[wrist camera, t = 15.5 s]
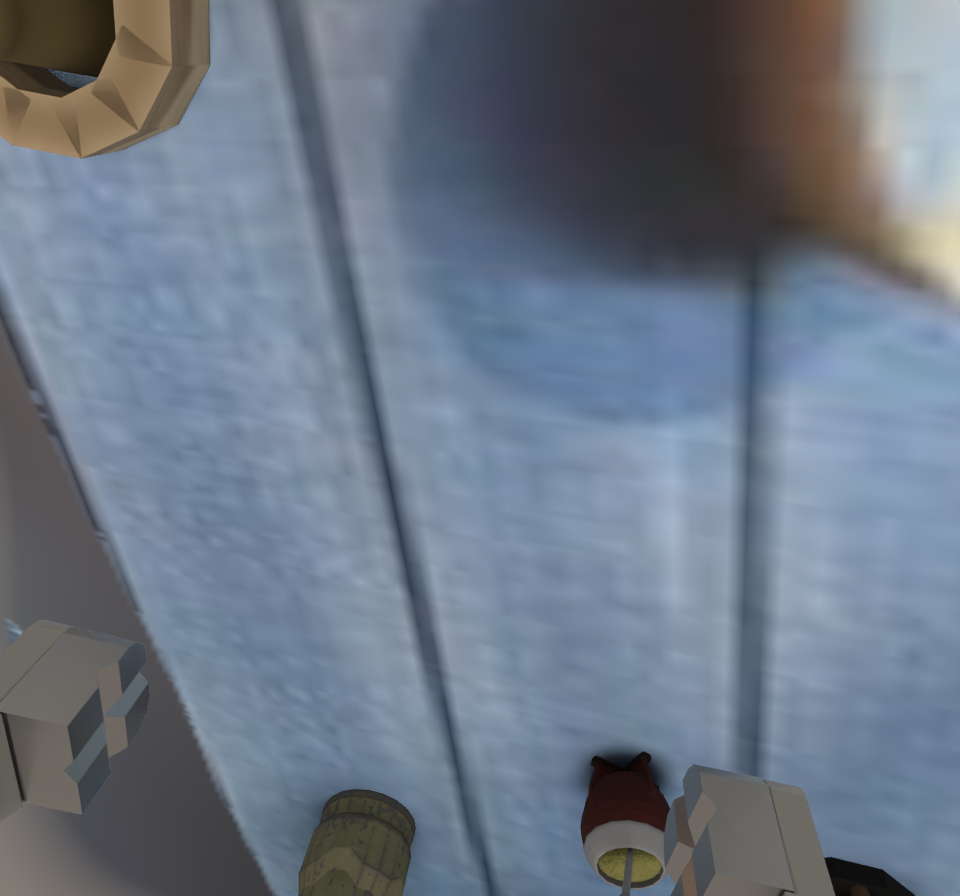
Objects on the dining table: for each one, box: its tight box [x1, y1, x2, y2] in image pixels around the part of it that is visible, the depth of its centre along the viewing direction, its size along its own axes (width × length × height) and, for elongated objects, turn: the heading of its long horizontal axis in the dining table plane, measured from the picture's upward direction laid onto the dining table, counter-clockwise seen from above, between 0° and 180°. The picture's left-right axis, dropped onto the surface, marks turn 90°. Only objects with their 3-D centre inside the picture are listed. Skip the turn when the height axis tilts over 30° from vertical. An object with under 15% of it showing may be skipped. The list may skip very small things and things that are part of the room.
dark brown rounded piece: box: [0, 0, 116, 77], centre depth 34 cm, size 6×6×11 cm
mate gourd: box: [581, 752, 670, 896], centre depth 53 cm, size 8×8×15 cm
